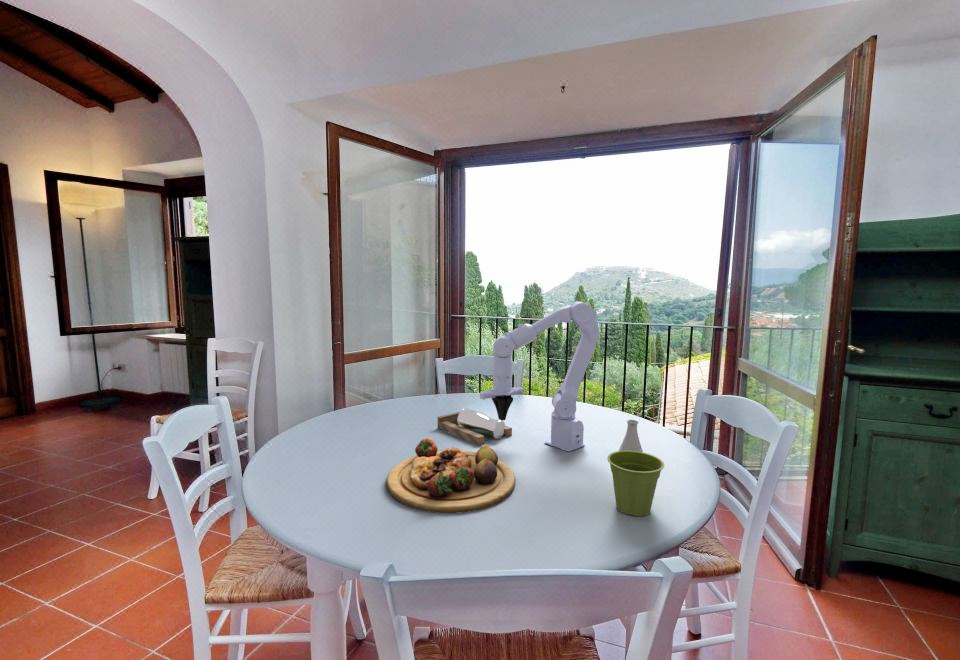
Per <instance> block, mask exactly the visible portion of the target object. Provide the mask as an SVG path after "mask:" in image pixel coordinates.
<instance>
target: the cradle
mask: <svg viewBox="0 0 960 660" xmlns="http://www.w3.org/2000/svg"><path fill="white" fill-rule="evenodd" d="M460 412H461V411H457V412H454V413H448V414H444V415H440V416H437V429H438V428H439V429H438V430H440V429H442V430H441V431H443V430H444V431H443V432H445V431H446V432H445V433H447V432H449V433H448V434H450V433H451V434H450V435H452V434H453V435H452V436H454V435H455V437H457V436H458V437H457V438H459V437H460V439H462V440H465V441H466V440H467V442H469V441H470V442H469V443H471V442H472V443H471V444H473V443H474V445H476V446H482V445H485V442H486V441H488V440H492V438H493V437H492V436H490V435H487V434H480V433H476V432H473V431H471V430H468V429H465V428H463V427H460V426H458V423H457V419H458V415H459V413H460ZM512 435H513V428H512V427H511V426H507V425H505V432H504V434H503V436H504V437H505V436H506V438H508V437H511V436H512ZM503 436H502V437H503ZM507 436H508V437H507ZM493 439H494V438H493ZM481 444H482V445H481Z"/></svg>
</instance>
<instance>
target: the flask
mask: <svg viewBox="0 0 960 660" xmlns="http://www.w3.org/2000/svg"><path fill="white" fill-rule="evenodd" d="M626 422H627V429H626V432H625V435H624V437H623V439H622V442H621V444H620V447H619V448H618V451H638V452H643V453H644V451H643V448H642V445H641V442H640V437H639V433H638V424H639V420H635V419H627V420H626Z"/></svg>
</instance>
